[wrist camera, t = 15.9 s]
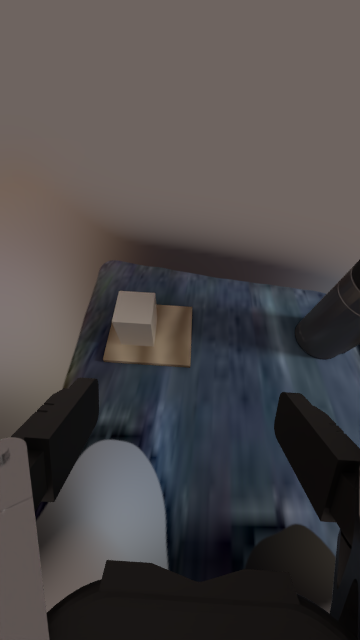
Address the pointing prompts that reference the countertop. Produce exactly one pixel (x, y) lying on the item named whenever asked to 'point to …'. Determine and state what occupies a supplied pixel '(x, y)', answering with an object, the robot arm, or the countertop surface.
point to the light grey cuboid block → (135, 318)
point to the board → (157, 341)
